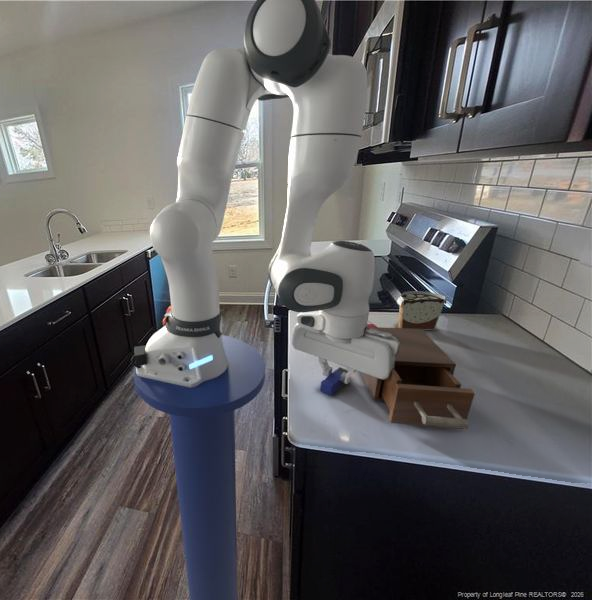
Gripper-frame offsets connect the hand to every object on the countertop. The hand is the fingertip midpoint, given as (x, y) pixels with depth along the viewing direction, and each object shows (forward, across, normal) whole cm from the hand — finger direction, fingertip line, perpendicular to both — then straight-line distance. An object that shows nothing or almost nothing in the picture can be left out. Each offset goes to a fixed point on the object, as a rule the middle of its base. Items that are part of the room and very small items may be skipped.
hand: (335, 378), depth 69 cm
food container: (+2, -5, -42) cm, 42 cm away
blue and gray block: (+2, 0, 0) cm, 2 cm away
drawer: (+1, -15, -1) cm, 15 cm away
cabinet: (+2, -9, -10) cm, 13 cm away
